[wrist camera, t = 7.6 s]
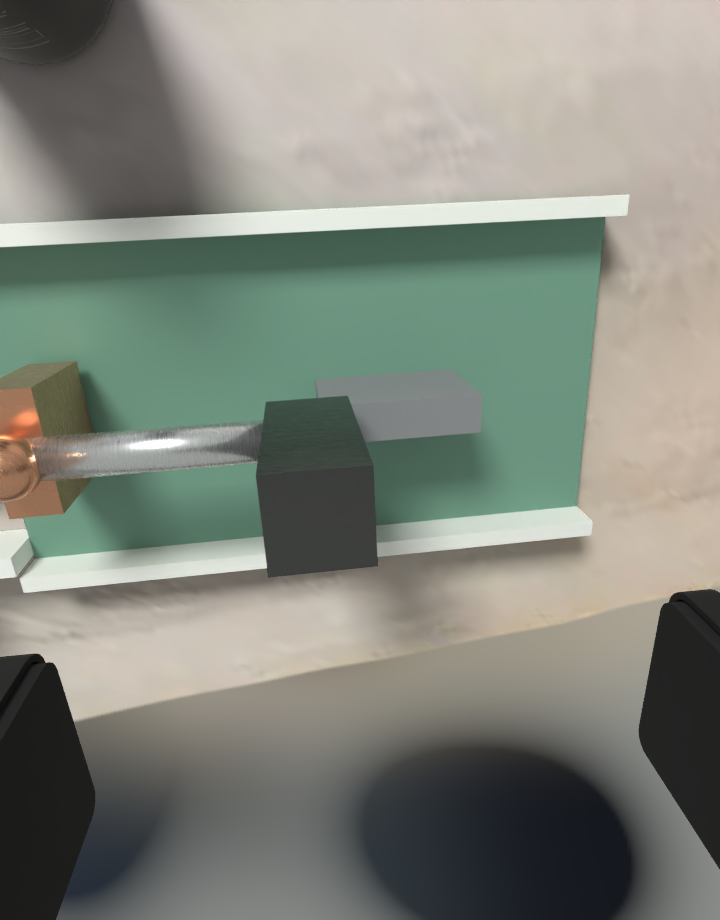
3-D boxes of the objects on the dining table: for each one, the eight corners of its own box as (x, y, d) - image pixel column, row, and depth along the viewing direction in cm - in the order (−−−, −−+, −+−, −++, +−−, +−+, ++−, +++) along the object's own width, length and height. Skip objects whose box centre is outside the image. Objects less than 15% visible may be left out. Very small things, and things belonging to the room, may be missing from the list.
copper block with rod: (335, 343, 26) (371, 428, 14) (341, 447, 28) (379, 596, 16) (23, 364, 25) (-207, 475, 13) (51, 472, 27) (-129, 651, 15)
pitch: (595, 198, 27) (677, 188, 21) (567, 511, 32) (624, 568, 27) (-217, 237, 23) (-373, 237, 18) (-87, 574, 29) (-175, 654, 24)
